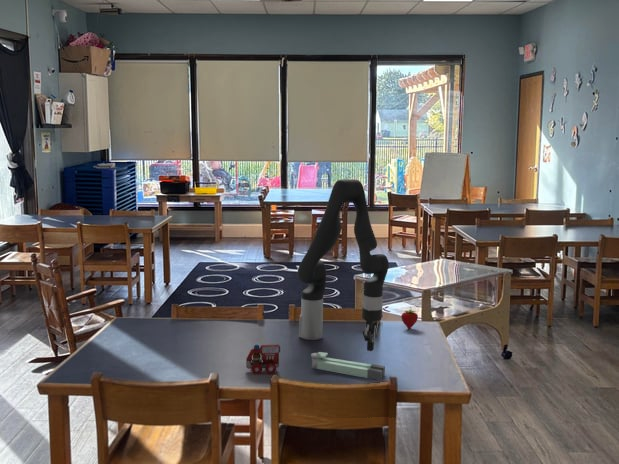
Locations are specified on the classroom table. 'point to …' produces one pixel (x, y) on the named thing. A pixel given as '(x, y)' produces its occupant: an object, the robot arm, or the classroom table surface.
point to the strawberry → (409, 318)
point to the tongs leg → (347, 369)
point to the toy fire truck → (263, 359)
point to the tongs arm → (348, 362)
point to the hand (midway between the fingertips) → (370, 350)
